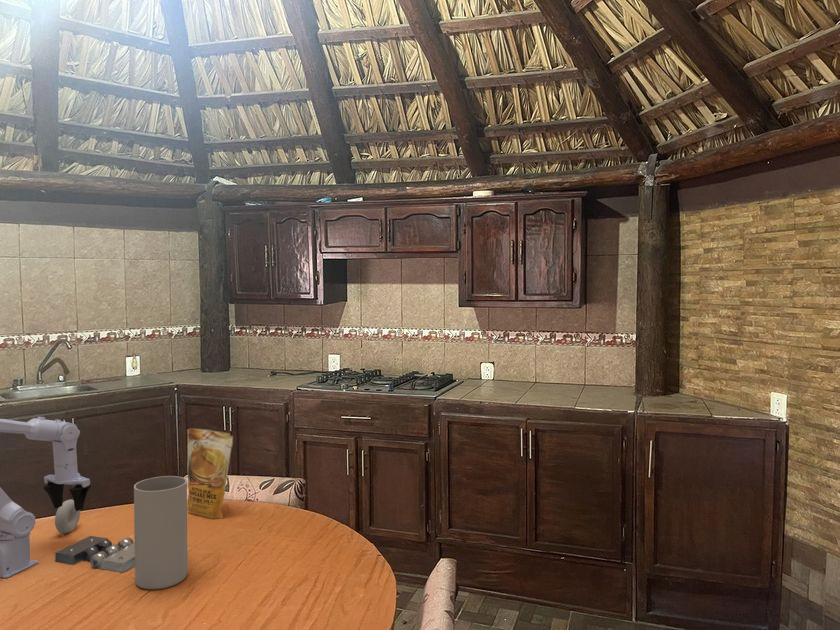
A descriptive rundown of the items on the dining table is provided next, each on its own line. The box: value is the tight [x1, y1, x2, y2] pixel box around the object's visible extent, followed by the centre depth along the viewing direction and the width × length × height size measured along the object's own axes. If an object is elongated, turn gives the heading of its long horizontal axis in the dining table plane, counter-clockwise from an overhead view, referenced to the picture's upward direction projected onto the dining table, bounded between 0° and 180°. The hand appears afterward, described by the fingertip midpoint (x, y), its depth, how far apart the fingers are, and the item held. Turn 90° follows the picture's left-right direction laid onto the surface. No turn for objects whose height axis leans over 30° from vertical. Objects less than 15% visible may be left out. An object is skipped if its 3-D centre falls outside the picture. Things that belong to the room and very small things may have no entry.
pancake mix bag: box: [186, 427, 234, 520], centre depth 201 cm, size 7×19×28 cm, turn 62°
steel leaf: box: [89, 537, 135, 574], centre depth 166 cm, size 13×11×4 cm
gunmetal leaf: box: [54, 535, 113, 565], centre depth 169 cm, size 12×10×4 cm
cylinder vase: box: [133, 475, 189, 591], centre depth 155 cm, size 12×12×25 cm
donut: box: [54, 498, 81, 535], centre depth 185 cm, size 10×4×10 cm, turn 179°
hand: (68, 508), depth 175 cm, fingers open, 7 cm apart
